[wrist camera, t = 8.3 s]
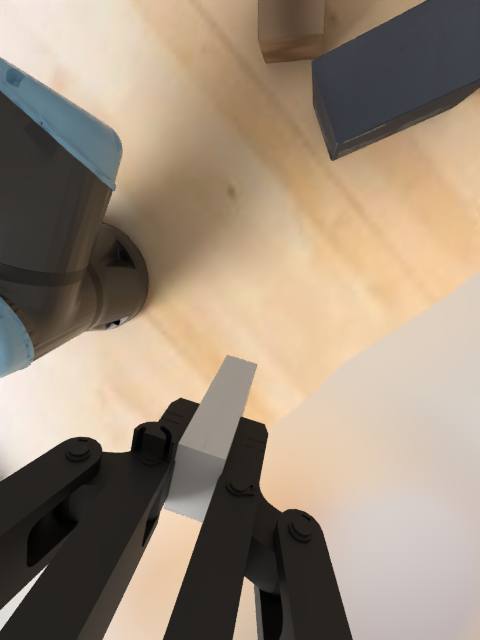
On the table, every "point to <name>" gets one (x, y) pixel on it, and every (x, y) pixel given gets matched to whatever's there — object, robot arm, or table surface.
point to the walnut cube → (291, 29)
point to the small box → (397, 74)
